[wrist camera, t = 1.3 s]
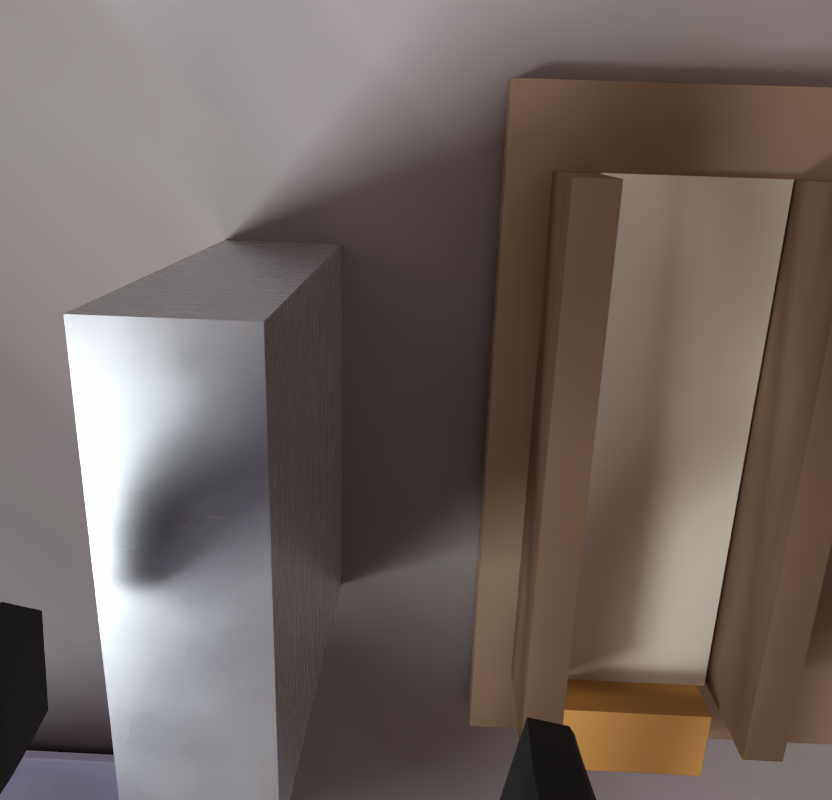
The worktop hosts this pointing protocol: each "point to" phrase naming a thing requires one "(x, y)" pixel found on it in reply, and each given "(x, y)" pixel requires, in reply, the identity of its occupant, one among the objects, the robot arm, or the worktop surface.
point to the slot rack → (660, 423)
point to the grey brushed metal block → (213, 511)
